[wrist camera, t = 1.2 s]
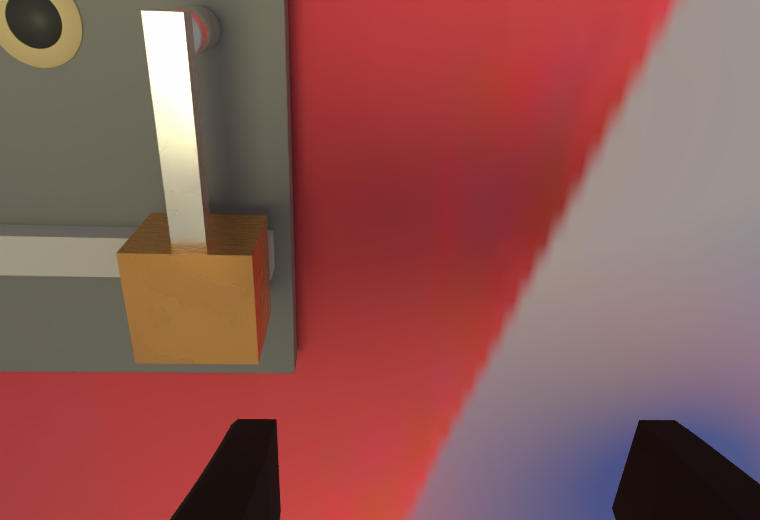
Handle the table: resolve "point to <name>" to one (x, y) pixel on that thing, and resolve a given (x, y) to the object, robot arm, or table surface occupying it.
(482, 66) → the table surface
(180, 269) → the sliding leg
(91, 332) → the plate
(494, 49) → the table surface
